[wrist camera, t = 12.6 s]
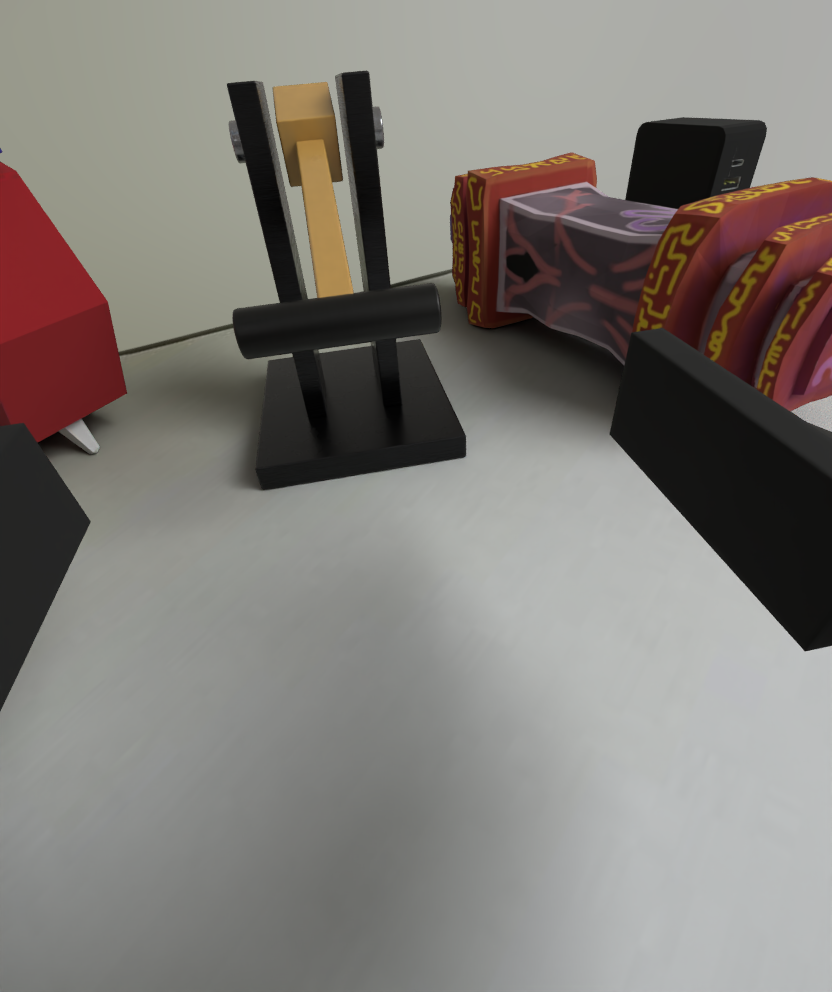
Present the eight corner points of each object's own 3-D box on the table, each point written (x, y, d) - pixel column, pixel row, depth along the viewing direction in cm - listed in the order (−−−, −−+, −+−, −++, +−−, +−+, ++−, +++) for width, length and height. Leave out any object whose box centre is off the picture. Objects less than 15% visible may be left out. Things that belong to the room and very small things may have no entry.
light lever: (440, 353, 16) (443, 290, 14) (251, 380, 15) (226, 319, 13) (378, 142, 22) (373, 76, 20) (242, 156, 22) (223, 90, 20)
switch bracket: (466, 457, 25) (463, 59, 15) (262, 490, 24) (121, 90, 14) (421, 357, 34) (402, 69, 24) (273, 378, 33) (192, 89, 23)
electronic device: (690, 268, 44) (728, 126, 37) (617, 243, 51) (638, 122, 44) (728, 259, 45) (771, 120, 38) (650, 236, 52) (676, 116, 45)
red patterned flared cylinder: (996, 185, 18) (511, 145, 39) (844, 231, 16) (406, 161, 36) (863, 414, 25) (506, 275, 46) (736, 478, 22) (416, 298, 43)
